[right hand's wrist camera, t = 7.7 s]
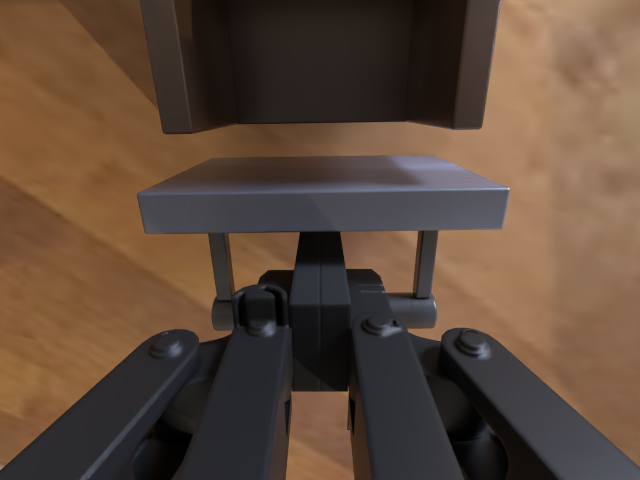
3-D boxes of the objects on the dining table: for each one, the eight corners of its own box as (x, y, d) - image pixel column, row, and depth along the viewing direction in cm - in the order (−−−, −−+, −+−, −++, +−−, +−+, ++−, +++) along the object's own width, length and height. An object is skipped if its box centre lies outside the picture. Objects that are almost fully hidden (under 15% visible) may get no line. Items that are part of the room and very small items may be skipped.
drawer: (420, 283, 18) (474, 380, 11) (227, 285, 18) (175, 383, 12) (490, -394, 10) (798, -1306, 3) (141, -385, 10) (-179, -1258, 4)
